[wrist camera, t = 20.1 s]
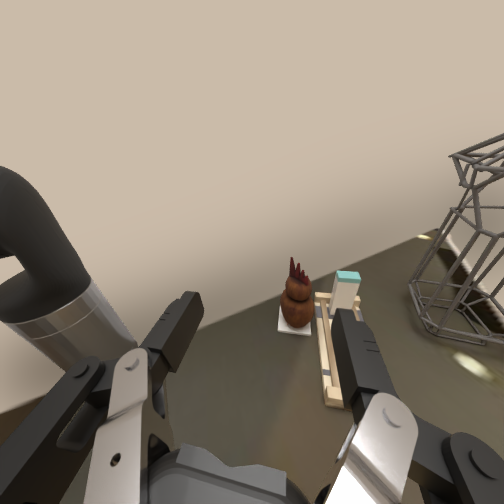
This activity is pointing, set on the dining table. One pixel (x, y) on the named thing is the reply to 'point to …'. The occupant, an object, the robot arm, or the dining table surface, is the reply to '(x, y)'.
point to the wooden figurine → (297, 298)
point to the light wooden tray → (329, 349)
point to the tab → (344, 290)
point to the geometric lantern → (497, 175)
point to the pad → (286, 328)
